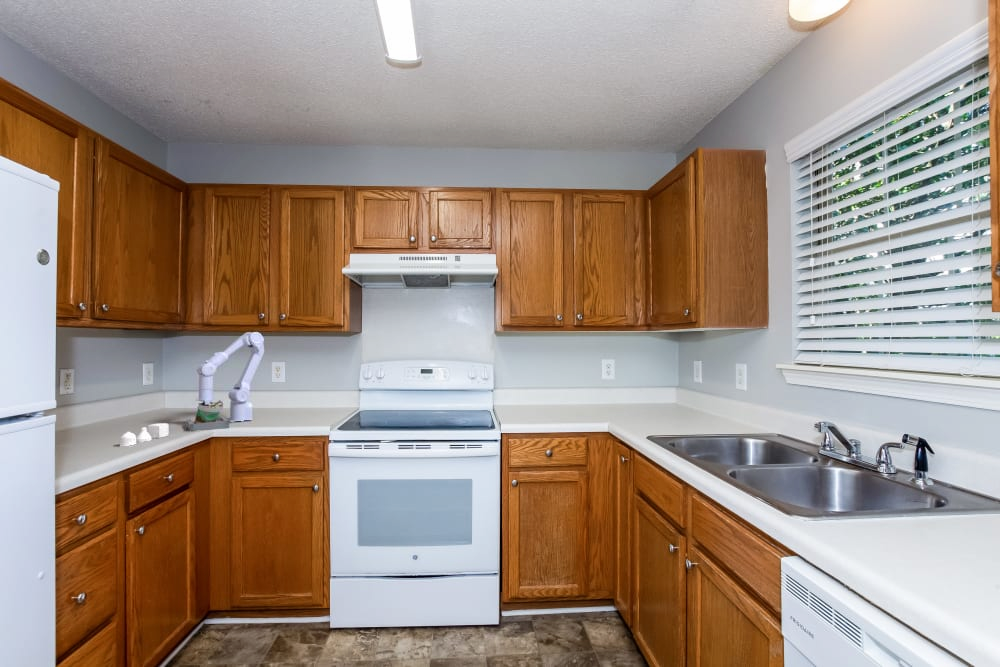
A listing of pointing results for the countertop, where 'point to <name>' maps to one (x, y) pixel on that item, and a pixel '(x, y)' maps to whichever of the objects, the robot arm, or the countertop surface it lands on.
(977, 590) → the countertop surface
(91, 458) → the countertop surface
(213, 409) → the food container
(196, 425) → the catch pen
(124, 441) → the container set
